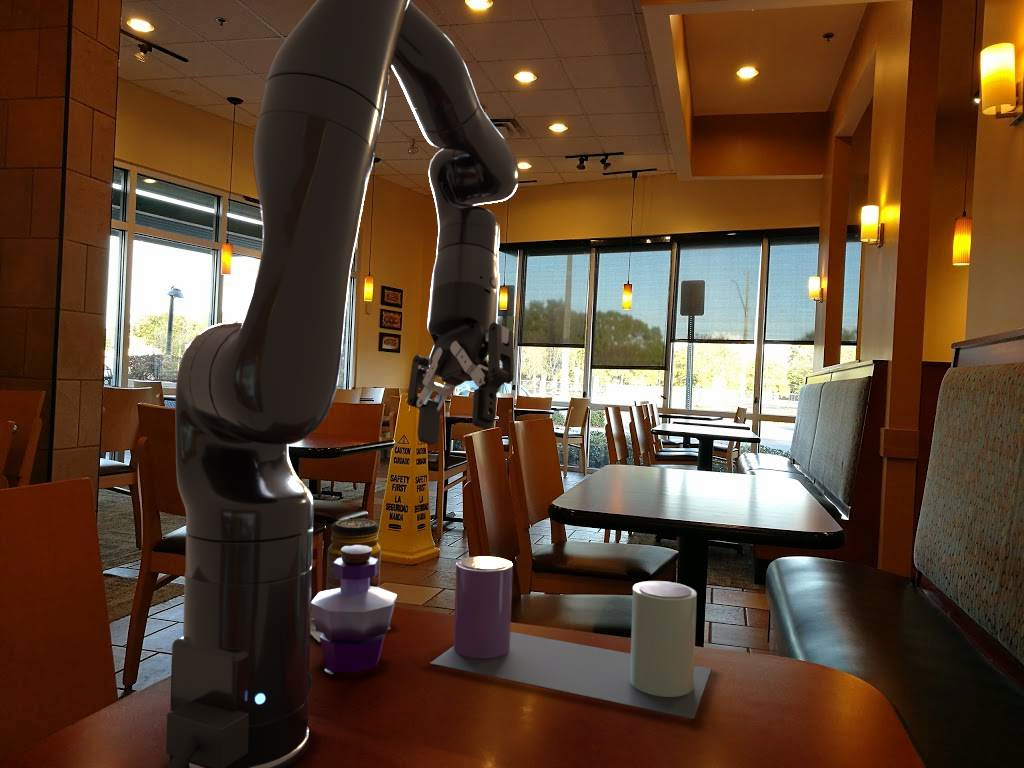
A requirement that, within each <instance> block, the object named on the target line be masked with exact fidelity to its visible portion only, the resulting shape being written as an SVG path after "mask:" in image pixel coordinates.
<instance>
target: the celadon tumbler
mask: <svg viewBox="0 0 1024 768" xmlns="http://www.w3.org/2000/svg"><path fill="white" fill-rule="evenodd" d="M697 593H698V592H697V591H696V590H695V589H693V587H690V586H687V585H685V584H681V583H677V582H672V581H664V580H663V581H662V580H648V581H641V582H638V583H635V584H634V585H633V586H632V598H631V601H632V602H631V627H630V630H631V631H630V653H629V654H630V683H631V684H632V686H634V687H635V688H636V689H638V690H640V691H642V692H644V693H647V694H651V695H655V696H662V697H678V696H683V695H686V694H688V693H690V692H691V691H692V690H693V682H694V665H695V650H696V629H697V627H696V625H697V599H698V594H697Z"/></svg>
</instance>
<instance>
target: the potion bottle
mask: <svg viewBox="0 0 1024 768" xmlns="http://www.w3.org/2000/svg"><path fill="white" fill-rule="evenodd" d="M371 552H372V548H371V547H368V546H363V545H353V546H344V547H342V549H341V558H337V559H336V561H335V562H334V566H333V575H334V576H336V577H339V578H341V586H340V588H337V589H332V590H328V591H327V590H323V591H318V593H317V594H316V596H315V597H314V598H313V599H311V614H312V618H314V623H315V628H316V632H318V631H319V632H322V635H321V636H320V646H321V650H322V656H323V661H324V665H325V668H324V672H325V673H328V674H329V675H330V676H332V675H333V674H335V673H337V672H339V673H361V672H364V671H367V670H369V669H373V668H376V667H377V666H378V664H379V661H380V659H381V654H382V650H383V647H384V642H385V638H386V635H387V633H388V631H389V630H390V629H389V627H390V628H391V622H392V618H393V614H394V610H395V606H396V602H397V598H398V594H397V593H395V592H392V591H390V590H387V589H385V588H381V587H380V588H379V587H372V586H370V577H374V576H375V575H376V573H377V572H378V559H375V558H372V557H370V556H371ZM388 629H389V630H388Z"/></svg>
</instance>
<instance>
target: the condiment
mask: <svg viewBox="0 0 1024 768" xmlns="http://www.w3.org/2000/svg"><path fill="white" fill-rule="evenodd" d="M378 531H379V524H378V523H377V522H376V521H374V520H371V519H365V518H347V519H341V520H337V521H334V523H332V526H331V537H330V541H331V543H330V545H329V546H328V548H327V556H326V557H327V558H326V559H327V561H326V562H327V564H326V591H328V590H332V589H337V588H340V586H341V578H339V577H336V576H334V575H333V566H334V562H335V561H336V559H337V558H341V549H342V547H344V546H353V545H363V546H368V547H371V548H372V552H371V556H370V557H372V558H375V559H378V572H377V573H376V575H375V576H374V577H370V586H372V587H379V588H381V585H380V583H381V558H382V552H381V551H382V549H381V545H380V544H379V542H378V540H379V533H378ZM391 629H392V627H391V626H390V627H389V629H388V631H389V630H391ZM321 635H322V632H319V631H318V632H316V628H315V623H314V618H313V617H311V623H310V636H312V637H313V638H314V639H315V640H317V642H318V643H321V641H320V636H321Z"/></svg>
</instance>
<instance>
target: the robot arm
mask: <svg viewBox="0 0 1024 768" xmlns="http://www.w3.org/2000/svg"><path fill="white" fill-rule="evenodd" d="M392 71H393V73H394V75H395V76H396V78H397V80H398V82H399V85H400V86H401V89H402V90H403V93H404V95H405V97H406V99H407V102H408V104H409V106H410V109H411V111H412V112H413V115H414V117H415V119H416V121H417V124H418V126H419V128H420V130H421V132H422V135H423V136H424V138H425V139H426V141H427V142H428V143H429V144H430V145H431V146H433V147H435V148H438V149H440V150H439V151H438V152H436V153H435V155H434V156H433V158H432V159H431V160H430V164H429V168H428V177H429V183H430V188H431V191H432V195H433V198H434V203H435V208H436V215H437V225H438V233H437V234H438V236H437V244H436V254H435V255H436V257H435V263H434V265H433V270H432V276H431V284H430V296H429V305H428V315H427V316H428V317H427V331H428V333H429V335H430V336H431V339H432V342H433V345H432V350H431V352H430V355H427V356H422V355H419V354H415V355H414V356H413V358H412V363H411V369H410V375H409V377H410V378H409V384H408V391H407V397H406V405H408V406H410V407H412V408H416V409H418V423H417V424H418V425H417V439H418V441H419V442H420V443H423V444H426V445H429V446H433V445H435V444H438V442H439V435H440V422H441V411H440V410H441V409H442V406H443V405H444V404H445V403H444V402H445V401H446V399H447V398H448V397H450V396H452V395H453V393H454V391H455V389H456V387H458V386H461V385H462V384H464V383H466V382H472V381H473V383H474V384H475V386H476V387H477V388H476V389H474V390H473V399H472V400H473V402H472V415H471V416H472V418H471V422H472V424H473V426H474V427H476V428H480V429H483V430H489V429H492V428H493V427H494V422H495V420H496V415H497V414H496V413H497V411H496V410H497V397H498V395H497V394H498V393H499V392H500V390H501V388H502V386H503V385H504V384H511V383H512V382H513V381H514V378H515V344H514V343H515V342H514V341H515V337H514V336H515V335H514V334H515V333H514V331H513V330H511V329H509V328H508V327H506V326H504V325H502V324H499V323H498V315H499V313H498V312H499V293H500V273H499V272H500V271H499V253H500V252H499V248H500V238H501V237H500V222H499V220H498V218H497V216H496V215H495V214H494V213H493V212H491V211H490V210H489V209H487V208H484V207H482V206H479V205H484V204H492V203H498V202H503V201H506V200H508V199H509V198H511V197H512V196H513V195H514V194H515V192H516V190H517V188H518V185H519V182H520V181H519V180H520V169H519V165H518V161H517V159H516V156H515V154H514V152H513V150H512V148H511V147H510V145H509V144H508V141H506V139H505V138H504V137H503V135H502V134H501V133H500V132H499V130H498V129H497V128H496V126H495V125H494V124H493V123H492V121H491V120H490V118H489V117H488V115H487V114H486V112H484V109H483V108H482V105H481V104H480V101H479V98H478V96H477V93H476V90H475V87H474V84H473V82H472V78H471V77H470V73H469V71H468V68H467V66H466V63H465V62H464V59H463V58H462V56H461V54H460V52H459V51H458V49H457V48H456V47H455V45H454V44H453V42H452V41H451V40H450V39H449V37H448V36H447V35H446V34H445V33H444V32H443V31H442V30H441V29H440V28H439V27H438V26H437V25H436V24H435V23H434V22H433V21H432V20H431V19H430V18H429V17H428V16H426V14H425V13H424V12H423V11H422V10H420V9H419V8H418V6H417V5H415V4H414V2H413V1H412V0H316V1H315V2H314V3H313V4H312V6H311V7H310V8H309V9H308V10H307V12H306V13H305V14H304V15H303V17H302V18H301V19H300V21H299V22H298V23H297V24H296V25H295V26H294V28H293V29H292V30H291V32H290V33H289V34H288V36H287V37H286V38H285V40H284V41H283V43H282V44H281V46H280V48H278V50H277V52H276V54H275V56H274V58H273V60H272V62H271V64H270V67H269V69H268V71H267V74H266V75H267V76H266V79H265V83H264V88H263V92H262V97H261V101H260V103H259V104H260V105H259V109H258V113H257V118H256V121H255V126H254V131H253V132H254V133H253V140H252V167H253V174H254V181H255V186H256V192H257V197H258V198H257V199H258V203H259V208H260V213H261V221H262V247H261V248H262V249H261V256H260V261H259V265H258V270H257V274H256V277H255V278H256V279H255V282H254V286H253V289H252V294H251V296H250V300H249V303H248V306H247V310H246V313H245V315H244V318H243V320H241V321H240V320H238V321H237V320H236V321H227V322H222V323H218V324H214V325H211V326H210V327H207V328H206V329H204V330H202V331H201V332H199V334H197V335H196V336H195V337H194V338H193V339H192V341H190V343H189V344H188V346H187V347H186V348H185V351H184V353H183V355H182V357H181V360H180V363H179V367H178V371H177V376H176V384H175V404H174V405H175V409H174V411H175V413H174V414H175V415H174V416H175V417H174V418H175V464H176V465H175V467H176V468H175V469H176V470H175V471H176V472H175V474H176V483H177V488H178V492H179V494H180V498H181V501H182V504H183V506H184V510H185V555H184V556H185V558H184V559H185V561H184V589H183V590H184V591H183V593H184V594H183V629H182V630H183V631H182V632H183V633H182V637H179V638H176V639H174V641H173V642H172V644H171V666H170V667H171V670H170V671H171V672H170V673H171V674H170V707H169V708H170V710H169V712H168V713H166V741H165V742H166V743H165V746H166V747H165V751H166V752H165V753H166V754H167V755H168V765H167V766H166V768H288V767H291V766H292V765H293V764H295V763H296V762H297V761H298V760H300V759H301V757H303V755H304V754H305V753H306V751H307V749H308V747H309V739H310V738H309V737H310V736H309V735H310V729H309V723H308V722H309V697H310V696H309V695H310V694H309V693H310V692H309V691H311V692H312V691H313V675H312V674H311V673H310V655H311V654H310V652H311V634H310V623H311V618H312V608H311V601H312V588H313V587H312V585H313V584H312V582H313V579H312V578H313V559H314V558H313V555H314V553H313V552H314V551H313V550H314V520H315V519H314V518H315V516H314V515H315V514H314V513H315V512H314V511H315V502H314V497H313V494H312V492H311V490H310V489H309V488H308V487H307V485H306V484H305V483H303V481H302V479H300V477H299V476H298V474H297V472H296V471H295V470H294V467H293V464H292V462H291V458H290V454H289V445H293V444H296V443H299V442H301V441H303V440H305V439H307V438H308V437H310V436H311V435H312V434H313V433H314V432H316V431H317V430H318V429H319V427H320V426H321V425H322V424H323V423H324V421H325V420H326V417H327V416H328V414H329V412H330V410H331V409H332V406H333V404H334V401H335V397H336V393H337V389H338V384H339V378H340V372H341V363H342V356H343V345H344V334H345V323H346V315H347V303H348V295H349V285H350V278H351V270H352V266H353V259H354V254H355V249H356V245H357V240H358V235H359V228H360V223H361V217H362V214H363V208H364V207H363V206H364V201H365V197H366V192H367V189H368V188H367V187H368V183H369V179H370V175H371V171H372V167H373V163H374V159H375V155H376V149H377V146H378V140H379V135H380V130H381V125H382V121H383V116H384V109H385V103H386V98H387V92H388V86H389V81H390V76H391V72H392ZM437 377H438V379H439V381H441V382H442V383H444V384H441V383H439V382H436V379H437ZM419 389H420V390H421V392H420V394H419ZM433 392H436V395H435V396H434V399H432V397H433Z"/></svg>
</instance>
